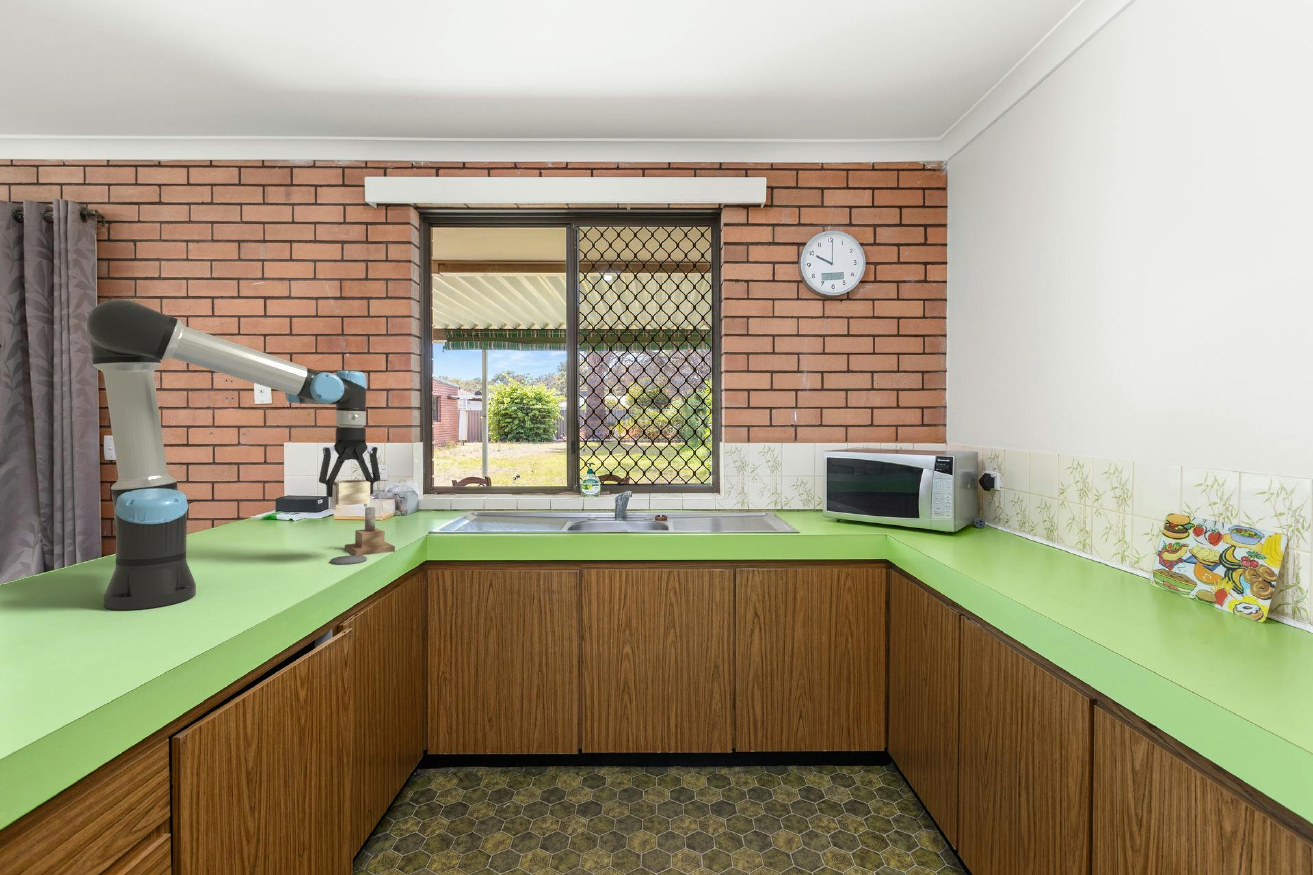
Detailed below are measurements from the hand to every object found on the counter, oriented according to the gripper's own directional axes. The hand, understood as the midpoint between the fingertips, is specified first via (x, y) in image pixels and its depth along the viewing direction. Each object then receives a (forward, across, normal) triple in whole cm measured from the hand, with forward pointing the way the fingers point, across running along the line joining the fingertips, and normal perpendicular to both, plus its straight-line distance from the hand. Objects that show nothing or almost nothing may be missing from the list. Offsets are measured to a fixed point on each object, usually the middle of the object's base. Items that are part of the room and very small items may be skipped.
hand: (350, 507), depth 167 cm
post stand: (+15, +9, +11) cm, 21 cm away
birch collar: (-1, 0, 0) cm, 1 cm away
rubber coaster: (+15, 0, 0) cm, 15 cm away
